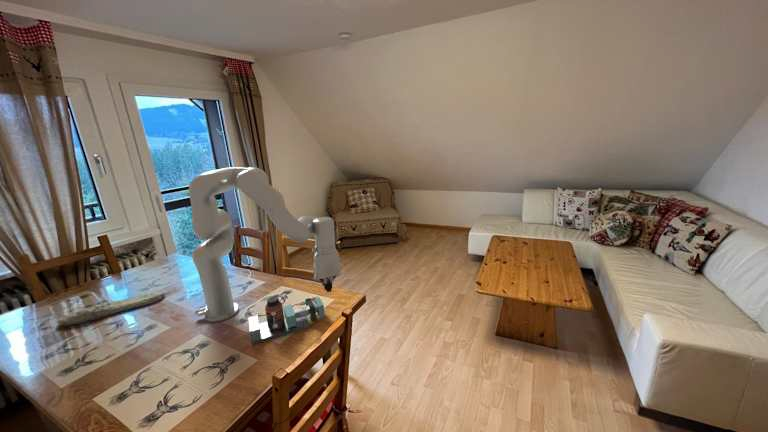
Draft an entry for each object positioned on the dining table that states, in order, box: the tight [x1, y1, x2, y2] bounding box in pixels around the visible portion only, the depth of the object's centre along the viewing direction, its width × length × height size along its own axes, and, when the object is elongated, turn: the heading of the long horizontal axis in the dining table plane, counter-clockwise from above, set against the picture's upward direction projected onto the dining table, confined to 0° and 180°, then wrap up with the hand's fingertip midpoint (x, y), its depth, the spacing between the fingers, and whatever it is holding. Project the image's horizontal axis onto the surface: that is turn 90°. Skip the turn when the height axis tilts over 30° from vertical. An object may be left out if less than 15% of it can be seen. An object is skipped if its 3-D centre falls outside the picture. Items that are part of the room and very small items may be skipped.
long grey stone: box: [57, 291, 166, 327], centre depth 129 cm, size 35×5×10 cm
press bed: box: [248, 297, 318, 347], centre depth 112 cm, size 23×10×7 cm, turn 116°
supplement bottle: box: [264, 295, 285, 330], centre depth 110 cm, size 6×6×11 cm
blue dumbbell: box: [282, 297, 326, 328], centre depth 115 cm, size 14×8×5 cm, turn 116°
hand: (328, 290), depth 121 cm, fingers closed
